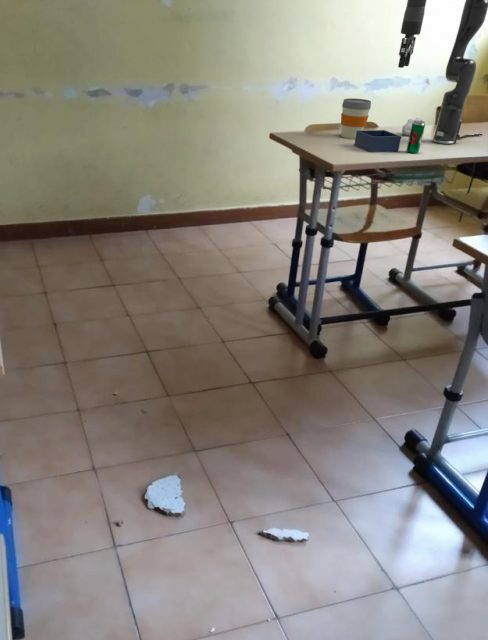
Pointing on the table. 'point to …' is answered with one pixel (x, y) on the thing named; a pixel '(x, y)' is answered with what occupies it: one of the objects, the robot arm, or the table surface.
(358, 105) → the reusable coffee cup
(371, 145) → the tote
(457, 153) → the table surface
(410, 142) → the soda can
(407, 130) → the skull
